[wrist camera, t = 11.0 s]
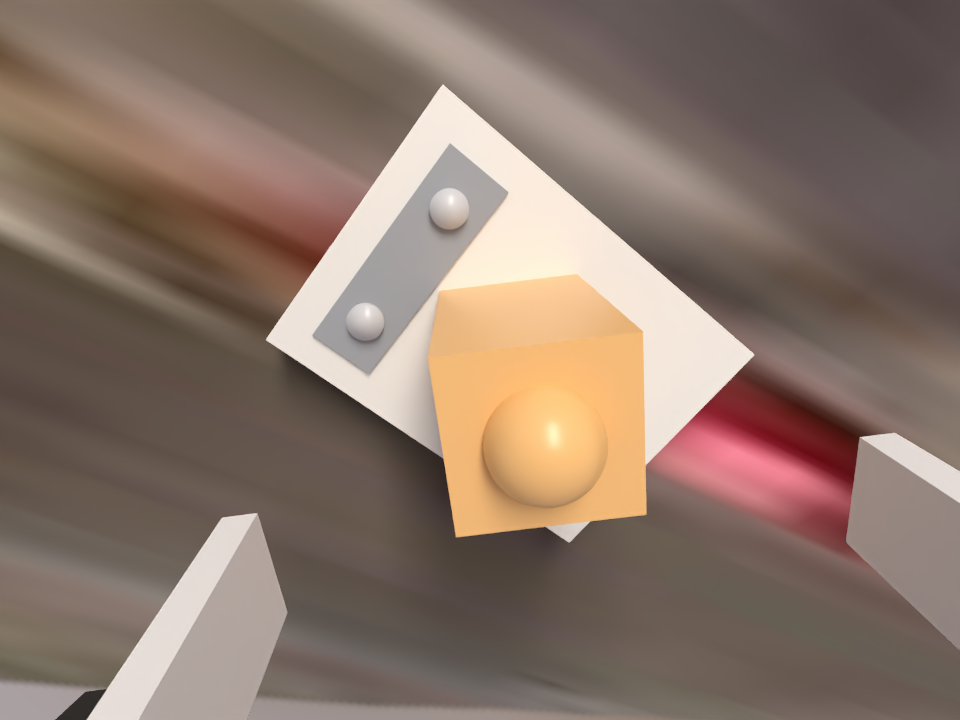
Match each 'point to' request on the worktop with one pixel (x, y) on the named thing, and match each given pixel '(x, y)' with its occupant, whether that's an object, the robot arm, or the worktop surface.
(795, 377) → the worktop surface
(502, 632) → the worktop surface
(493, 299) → the orange cube with dome
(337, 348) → the block
